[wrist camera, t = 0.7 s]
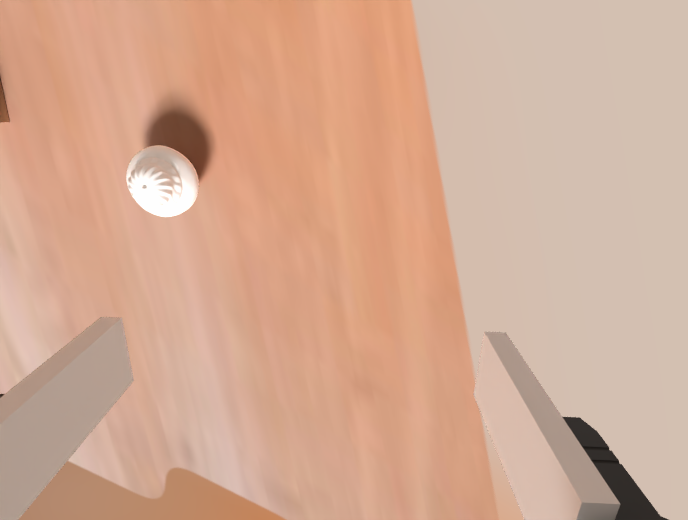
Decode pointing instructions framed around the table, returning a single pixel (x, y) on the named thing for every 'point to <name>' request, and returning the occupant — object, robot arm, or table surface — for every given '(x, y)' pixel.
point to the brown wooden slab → (3, 106)
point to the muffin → (162, 181)
